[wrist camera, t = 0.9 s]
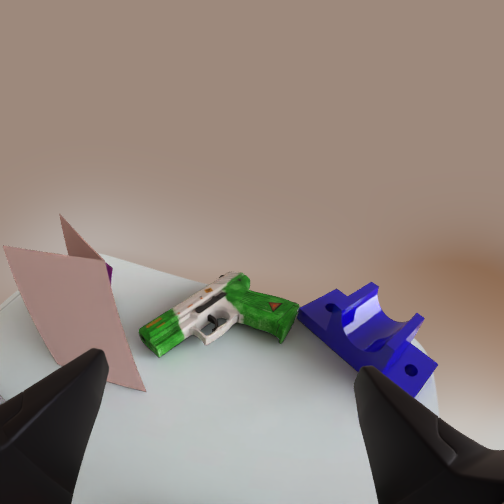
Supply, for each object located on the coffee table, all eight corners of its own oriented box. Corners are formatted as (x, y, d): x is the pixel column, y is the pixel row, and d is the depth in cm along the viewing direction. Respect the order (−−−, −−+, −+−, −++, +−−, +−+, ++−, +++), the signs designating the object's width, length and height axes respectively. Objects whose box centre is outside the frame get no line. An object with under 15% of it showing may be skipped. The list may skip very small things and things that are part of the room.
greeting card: (152, 387, 23) (116, 255, 16) (96, 425, 18) (14, 304, 10) (98, 326, 29) (67, 210, 21) (51, 352, 23) (1, 237, 16)
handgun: (215, 410, 22) (139, 340, 28) (303, 321, 33) (231, 280, 39) (214, 397, 21) (134, 323, 27) (308, 304, 31) (231, 263, 37)
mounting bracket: (296, 318, 34) (304, 281, 31) (333, 298, 38) (343, 263, 35) (402, 410, 22) (430, 379, 18) (431, 373, 25) (455, 340, 22)
